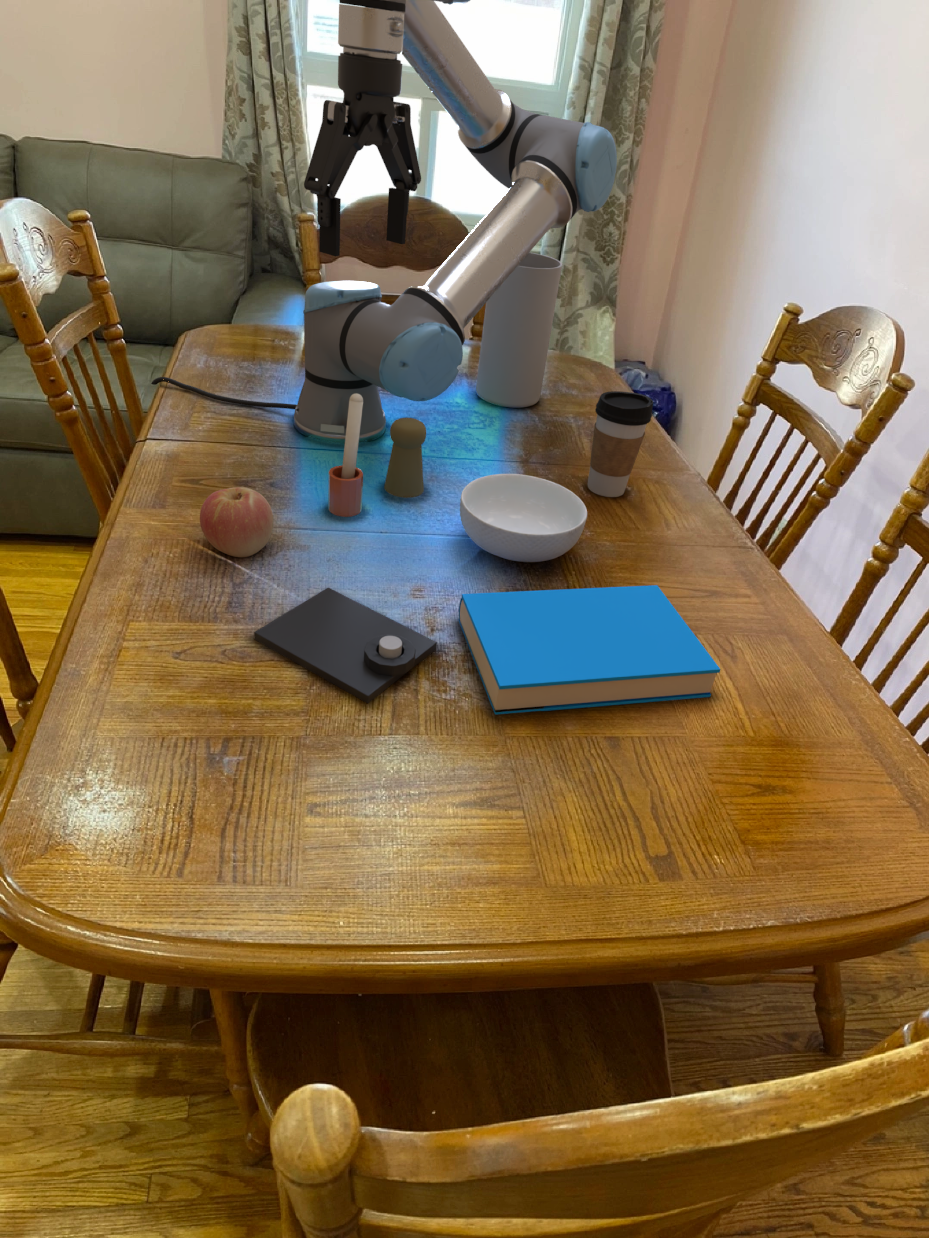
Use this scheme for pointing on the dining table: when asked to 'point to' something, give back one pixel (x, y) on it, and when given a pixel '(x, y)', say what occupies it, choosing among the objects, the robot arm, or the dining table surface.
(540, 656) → the book
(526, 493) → the cereal bowl
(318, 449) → the dining table surface
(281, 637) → the tablet
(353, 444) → the beige rod
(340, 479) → the pen pot
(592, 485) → the coffee cup
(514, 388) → the cylinder vase
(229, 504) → the apple
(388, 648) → the button
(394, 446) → the cork
